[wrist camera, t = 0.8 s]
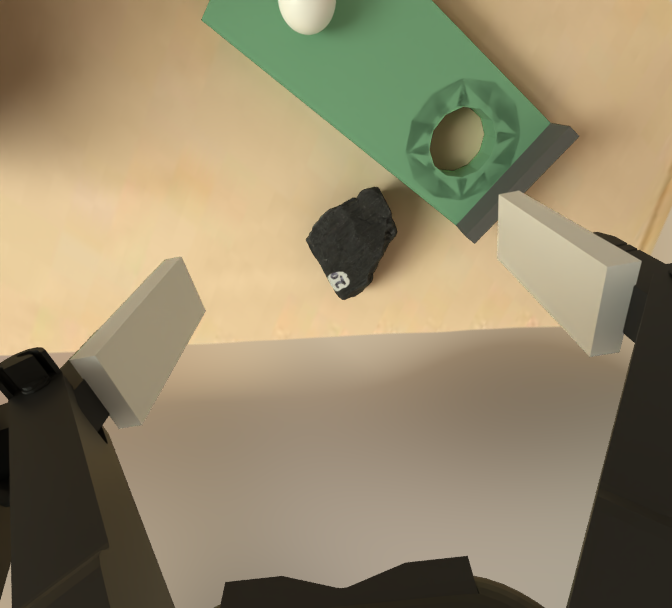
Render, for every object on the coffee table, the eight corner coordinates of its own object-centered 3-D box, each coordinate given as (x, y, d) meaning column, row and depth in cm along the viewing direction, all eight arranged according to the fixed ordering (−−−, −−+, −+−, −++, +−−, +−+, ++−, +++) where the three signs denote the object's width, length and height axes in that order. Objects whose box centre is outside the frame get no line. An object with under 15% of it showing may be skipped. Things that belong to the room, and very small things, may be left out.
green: (212, 25, 30) (187, 13, 25) (284, -133, 26) (271, -188, 21) (456, 222, 39) (474, 243, 33) (542, 128, 34) (579, 136, 29)
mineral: (415, 255, 41) (426, 279, 36) (344, 292, 43) (344, 319, 38) (372, 172, 36) (377, 186, 31) (295, 218, 39) (289, 237, 34)
